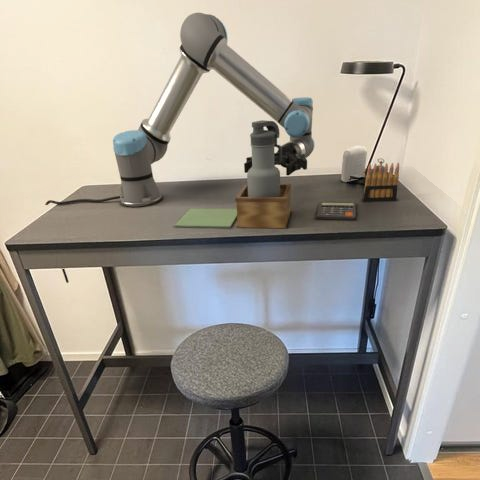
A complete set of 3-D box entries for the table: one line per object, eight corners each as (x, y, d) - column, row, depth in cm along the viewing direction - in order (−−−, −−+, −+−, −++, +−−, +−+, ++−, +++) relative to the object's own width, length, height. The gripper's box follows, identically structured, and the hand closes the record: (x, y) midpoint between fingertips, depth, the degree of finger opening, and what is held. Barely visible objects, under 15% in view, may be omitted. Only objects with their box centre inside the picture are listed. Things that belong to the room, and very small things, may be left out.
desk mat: (174, 227, 124) (174, 225, 124) (190, 210, 137) (189, 208, 137) (230, 228, 120) (230, 226, 120) (240, 210, 133) (240, 208, 133)
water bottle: (264, 211, 131) (262, 117, 115) (287, 218, 125) (288, 119, 109) (242, 220, 125) (237, 123, 110) (265, 227, 119) (263, 125, 104)
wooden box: (237, 227, 120) (235, 198, 115) (246, 211, 133) (244, 183, 128) (286, 228, 117) (286, 198, 112) (291, 211, 130) (291, 183, 125)
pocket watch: (391, 182, 150) (395, 154, 145) (393, 188, 144) (397, 159, 138) (368, 182, 152) (372, 154, 147) (369, 188, 146) (373, 159, 140)
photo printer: (357, 176, 160) (360, 143, 153) (365, 178, 157) (369, 144, 150) (339, 181, 156) (341, 147, 149) (347, 183, 153) (350, 149, 146)
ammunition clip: (363, 201, 134) (367, 164, 127) (362, 199, 135) (366, 163, 129) (396, 200, 133) (402, 163, 126) (394, 198, 134) (400, 161, 127)
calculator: (316, 215, 122) (320, 200, 134) (316, 218, 122) (319, 203, 134) (355, 216, 119) (355, 201, 131) (355, 219, 120) (355, 204, 132)
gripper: (326, 167, 130) (305, 185, 115) (257, 164, 140) (229, 179, 125) (327, 143, 126) (306, 157, 111) (256, 141, 136) (228, 154, 120)
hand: (265, 169), depth 118 cm, fingers open, 13 cm apart
